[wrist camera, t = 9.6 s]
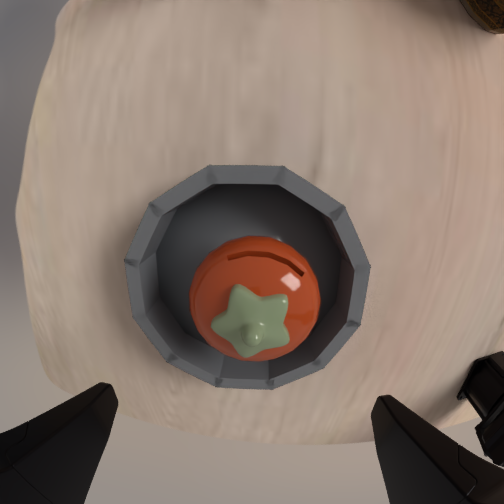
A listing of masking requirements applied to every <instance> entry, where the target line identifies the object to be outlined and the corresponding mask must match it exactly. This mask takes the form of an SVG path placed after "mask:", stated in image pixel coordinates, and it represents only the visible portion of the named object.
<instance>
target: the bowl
mask: <svg viewBox="0 0 504 504" xmlns="http://www.w3.org/2000/svg"><path fill="white" fill-rule="evenodd" d="M247 235H257V236H270V237H272V238H275V239H277V240H279V241H282V242H284V243H287V244H289V245H290V246H292V247H293V248H294V249H295V250H296V251H297V252H299V253H300V254H301V255H302V256H303V257H305V258H306V259H307V261H308V262H309V264H310V266H311V268H312V269H313V271H314V273H315V275H316V276H317V281H318V286H319V292H320V298H321V304H320V309H319V315H318V320H317V322H316V323H315V325H314V327H313V329H312V330H311V332H310V334H309V336H308V337H307V338H306V340H304V341H303V342H302V343H301V344H300V345H299V346H298V347H297V348H296V349H295V350H293V351H292V352H290V353H288V354H286V355H284V356H282V357H280V358H278V359H274V360H268V361H263V362H248V361H240V360H237V359H234V358H231V357H228V356H225V355H223V354H222V353H220V352H219V351H217V350H216V349H214V348H213V347H211V346H210V345H209V344H208V343H207V342H206V341H205V339H204V338H203V337H202V336H201V334H200V333H199V332H198V330H197V329H196V327H195V324H194V321H193V319H192V316H191V314H190V311H189V289H190V286H191V283H192V280H193V277H194V274H195V271H196V268H197V267H198V265H199V264H200V263H201V262H202V260H203V259H204V258H205V257H206V255H207V254H208V253H209V252H210V251H212V250H214V249H215V248H217V247H218V246H220V245H221V244H223V243H225V242H226V241H228V240H231V239H235V238H239V237H243V236H247ZM124 262H125V268H126V276H127V283H128V290H129V297H130V303H131V309H132V314H133V316H132V317H133V319H134V320H135V321H136V322H137V324H138V325H139V326H140V328H141V329H142V331H143V332H144V333H145V335H146V336H147V337H148V339H149V340H150V341H151V342H152V344H153V345H154V346H155V348H156V349H157V350H158V351H159V353H160V354H161V355H162V356H163V358H164V359H165V360H166V362H167V363H170V364H172V365H173V366H175V367H177V368H179V369H181V370H183V371H185V372H187V373H189V374H191V375H193V376H195V377H197V378H199V379H201V380H203V381H205V382H207V383H209V384H211V385H213V386H215V387H217V388H218V387H221V388H238V389H271V390H273V389H275V388H277V387H280V386H283V385H285V384H288V383H290V382H293V381H295V380H298V379H300V378H302V377H305V376H307V375H309V374H312V373H314V372H316V371H319V370H321V369H323V368H325V366H326V365H327V364H328V363H329V362H330V360H331V359H332V358H333V357H334V356H335V355H336V354H337V353H338V351H339V350H340V349H341V348H342V347H343V346H344V344H345V343H346V342H347V341H348V340H349V338H350V337H351V336H352V335H353V334H354V332H355V331H356V330H357V329H358V327H359V326H360V325H361V319H362V314H363V309H364V303H365V298H366V292H367V286H368V280H369V273H370V268H371V267H370V266H371V265H370V264H369V262H368V259H367V257H366V254H365V252H364V249H363V247H362V245H361V242H360V240H359V237H358V235H357V233H356V231H355V228H354V226H353V224H352V221H351V219H350V217H349V215H348V213H347V211H346V207H345V206H344V205H343V204H341V203H339V202H338V201H336V200H335V199H333V198H332V197H330V196H329V195H327V194H326V193H324V192H323V191H321V190H320V189H318V188H317V187H315V186H314V185H312V184H311V183H309V182H308V181H306V180H305V179H303V178H302V177H300V176H298V175H297V174H295V173H294V172H292V171H290V170H289V169H287V168H286V167H285V166H258V165H214V166H213V165H209V166H207V167H205V168H204V169H202V170H200V171H199V172H197V173H195V174H194V175H192V176H190V177H189V178H187V179H186V180H184V181H183V182H181V183H179V184H178V185H176V186H175V187H173V188H172V189H170V190H169V191H167V192H166V193H164V194H163V195H161V196H160V197H158V198H157V199H155V200H154V201H152V202H150V203H149V206H148V208H147V210H146V212H145V214H144V216H143V218H142V221H141V223H140V225H139V227H138V230H137V232H136V234H135V236H134V239H133V241H132V243H131V246H130V248H129V251H128V253H127V256H126V258H125V259H124Z"/></svg>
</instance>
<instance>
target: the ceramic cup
mask: <svg viewBox="0 0 504 504" xmlns="http://www.w3.org/2000/svg"><path fill="white" fill-rule="evenodd" d="M460 1H461V3H462V4H463V6H464V7H465V9H466V10H467V12H468V14H469V15H470V16H471V17H472V18H473V19H474V20H475V21H476V22H477V23H478V24H480V25H481V26H482V27H483V28H484V29H485V30H486V31H488V32H492V33H495V34H503V33H504V0H460Z"/></svg>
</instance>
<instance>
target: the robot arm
mask: <svg viewBox="0 0 504 504" xmlns="http://www.w3.org/2000/svg"><path fill="white" fill-rule="evenodd" d="M464 398H467V399H468V401H469V402H470V403H471V405H472V406H473V407H474V409H475V410H476V412H477V413H478V414H479V416H480V417H481V419H482V421H481V422H480V424H478V425H477V426H476V427H475V430H476V434H477V436H478V439H479V441H480V444H481V446H482V449H483V451H484V455H485V456H486V457H487V456H488V457H489V458H490V459H492V460H493V463H494V464H496V465H499V466H502V467H504V352H503V351H501V352H498V353H495V354H492V355H489V356H486V357H483V358H480V359H477V360H476V361H475V362H474V364H473V367H472V369H471V371H470V373H469V375H468V377H467V379H466V381H465V383H464V385H463V387H462V389H461V391H460V392H459V394H458V396H457V399H458V400H462V399H464ZM117 408H118V399H117V397H116V394H115V391H114V389H113V386H112V385H111V384H108V383H104V382H100V383H98V384H96V385H95V386H93V387H91V388H89V389H87V390H86V391H84V392H82V393H80V394H78V395H76V396H75V397H73V398H71V399H69V400H67V401H65V402H64V403H62V404H60V405H58V406H56V407H54V408H52V409H50V410H49V411H47V412H45V413H43V414H41V415H39V416H37V417H36V418H33V419H31V420H29V422H28V421H27V422H25V423H23V424H21V425H19V426H17V427H15V428H13V429H11V430H8V431H6V432H3V433H0V504H84V502H85V499H86V496H87V493H88V491H89V488H90V485H91V482H92V480H93V477H94V475H95V472H96V469H97V467H98V464H99V461H100V459H101V456H102V454H103V451H104V449H105V446H106V444H107V441H108V438H109V435H110V432H111V428H112V425H113V421H114V418H115V414H116V411H117ZM371 420H372V426H373V432H374V438H375V445H376V450H377V455H378V459H379V463H380V466H381V470H382V474H383V478H384V482H385V486H386V490H387V494H388V498H389V502H390V504H504V469H502V468H500V467H498V466H496V465H494V464H492V463H490V462H488V461H486V460H484V459H482V458H480V457H478V456H477V455H475V454H473V453H472V452H470V451H468V450H467V449H465V448H464V447H463V446H461V445H458V443H457V442H455V441H454V440H452V439H451V438H449V437H448V436H447V435H445V434H444V433H442V432H441V431H439V430H438V429H437V428H435V427H434V426H432V425H431V424H430V423H428V422H427V421H425V420H424V419H423V418H421V417H420V416H418V415H417V414H416V413H414V412H413V411H412V410H410V409H409V408H407V407H406V406H405V405H403V404H402V403H401V402H399V401H398V400H397V399H395V398H394V397H392V396H391V395H383V396H379V397H378V398H377V400H376V402H375V405H374V407H373V410H372V412H371Z"/></svg>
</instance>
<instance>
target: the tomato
mask: <svg viewBox="0 0 504 504" xmlns="http://www.w3.org/2000/svg"><path fill="white" fill-rule="evenodd" d="M320 304H321V298H320V292H319V286H318V281H317V276H316V275H315V273H314V271H313V269H312V268H311V266H310V264H309V262H308V261H307V259H306V258H305V257H303V256H302V255H301V254H300V253H299V252H297V251H296V250H295V249H294V248H293V247H292V246H290V245H289V244H287V243H284V242H282V241H279V240H277V239H275V238H272V237H270V236H257V235H247V236H243V237H239V238H235V239H231V240H228V241H226V242H225V243H223V244H221V245H220V246H218V247H217V248H215V249H214V250H212V251H210V252H209V253H208V254H207V255H206V257H205V258H204V259H203V260H202V262H201V263H200V264H199V265H198V267H197V268H196V271H195V274H194V277H193V280H192V283H191V286H190V289H189V311H190V314H191V316H192V319H193V321H194V324H195V327H196V329H197V330H198V332H199V333H200V334H201V336H202V337H203V338H204V339H205V341H206V342H207V343H208V344H209V345H210V346H211V347H213V348H214V349H216V350H217V351H219V352H220V353H222V354H223V355H225V356H228V357H231V358H234V359H237V360H240V361H248V362H263V361H268V360H274V359H278V358H280V357H282V356H284V355H286V354H288V353H290V352H292V351H293V350H295V349H296V348H297V347H298V346H299V345H300V344H301V343H302V342H303V341H304V340H306V338H307V337H308V336H309V334H310V332H311V330H312V329H313V327H314V325H315V323H316V322H317V320H318V315H319V309H320Z"/></svg>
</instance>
